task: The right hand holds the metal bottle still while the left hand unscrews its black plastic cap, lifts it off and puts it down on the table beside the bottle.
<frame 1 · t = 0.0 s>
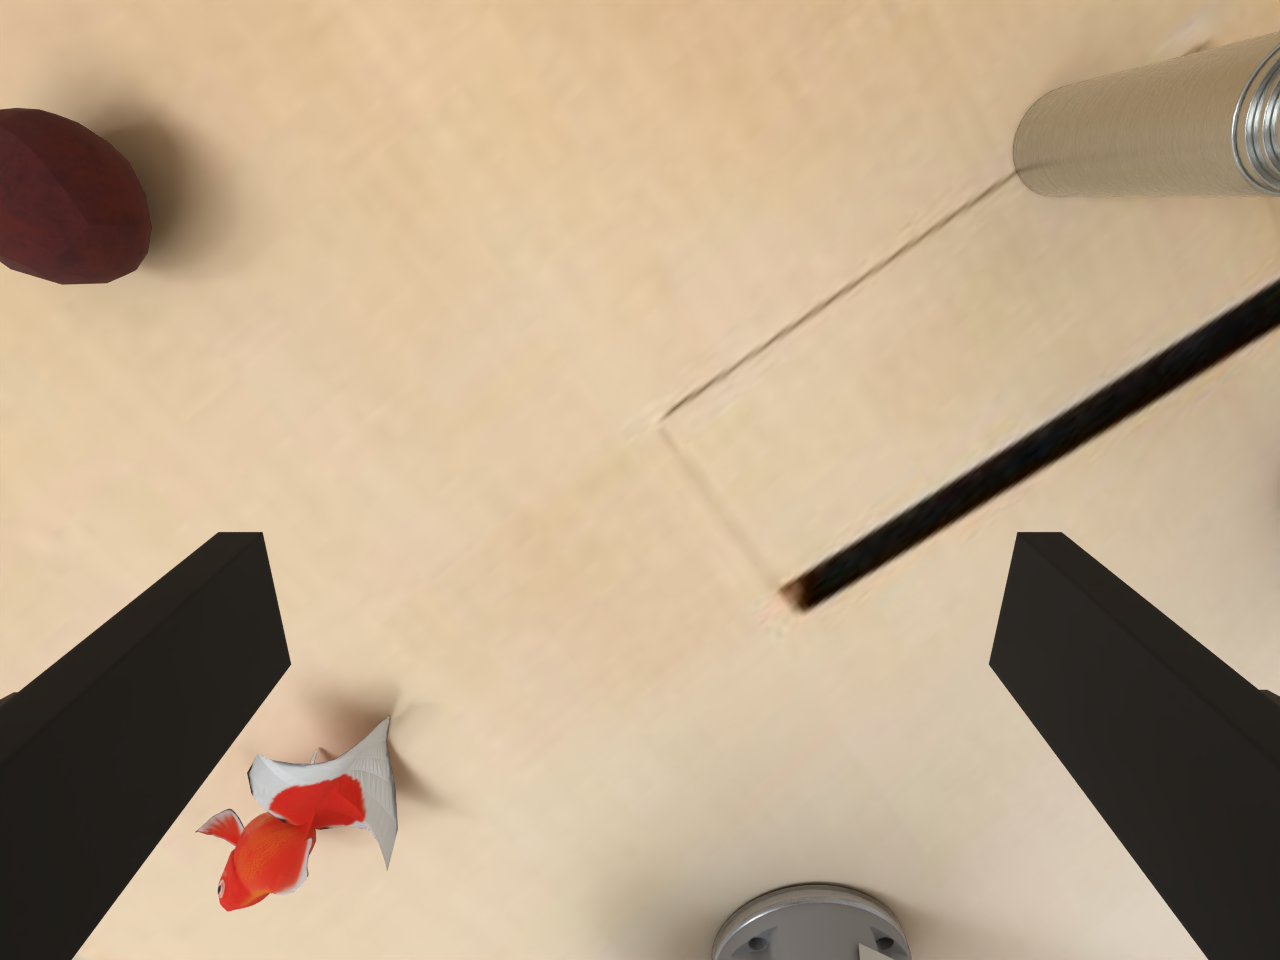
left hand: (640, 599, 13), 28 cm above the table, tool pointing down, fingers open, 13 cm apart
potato: (111, 202, 36), on the table
bottle: (1063, 142, 35), on the table
fish: (329, 764, 50), on the table
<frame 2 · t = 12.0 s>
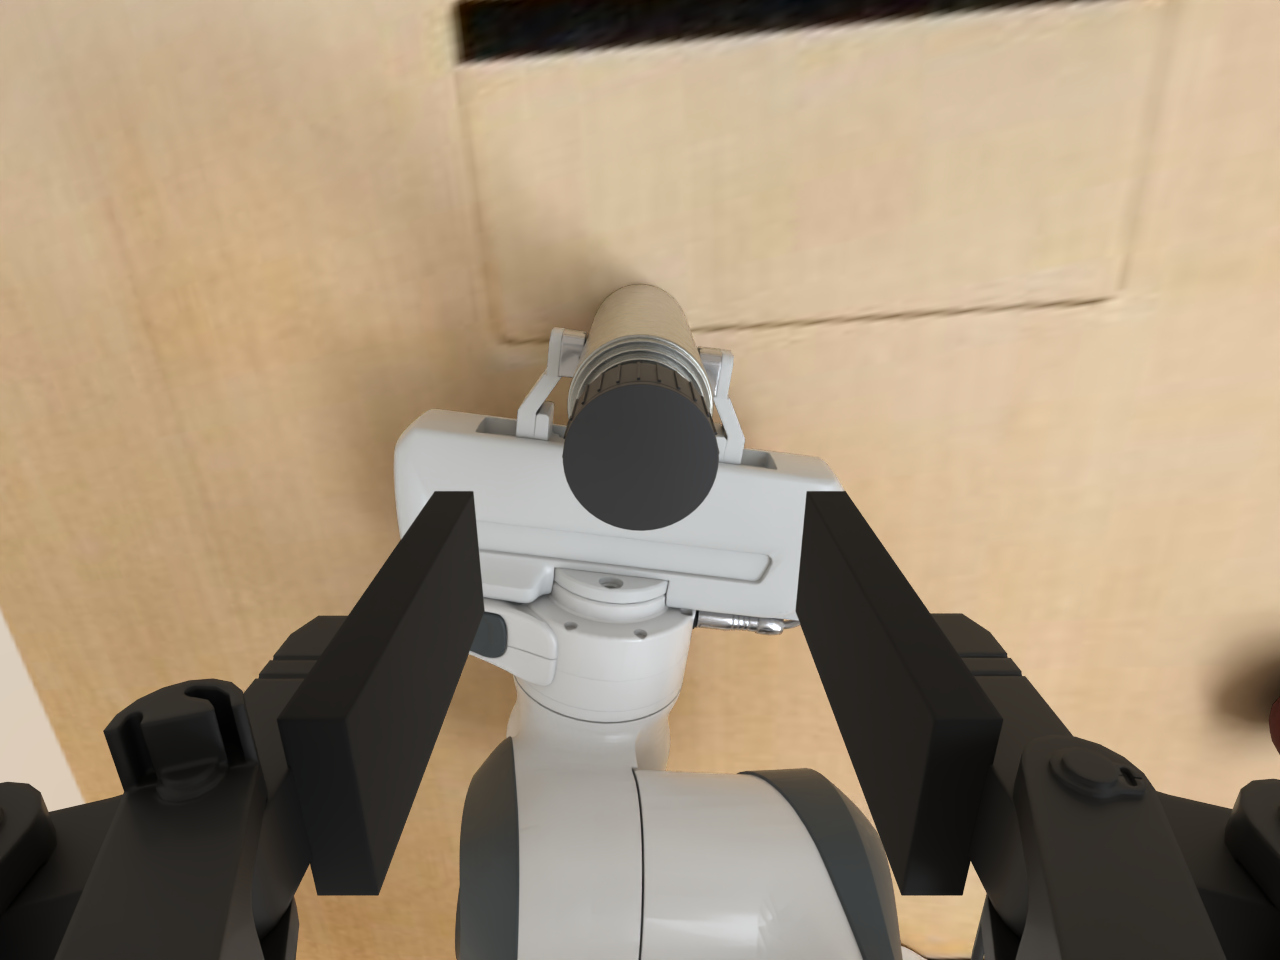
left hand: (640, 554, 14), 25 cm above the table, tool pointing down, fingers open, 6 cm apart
right hand: (641, 340, 31), fingers closed on bottle, 5 cm apart
bottle: (639, 332, 37), on the table, touching right hand
cap: (640, 456, 20), point 19 cm above the table, screwed on, not yet turned
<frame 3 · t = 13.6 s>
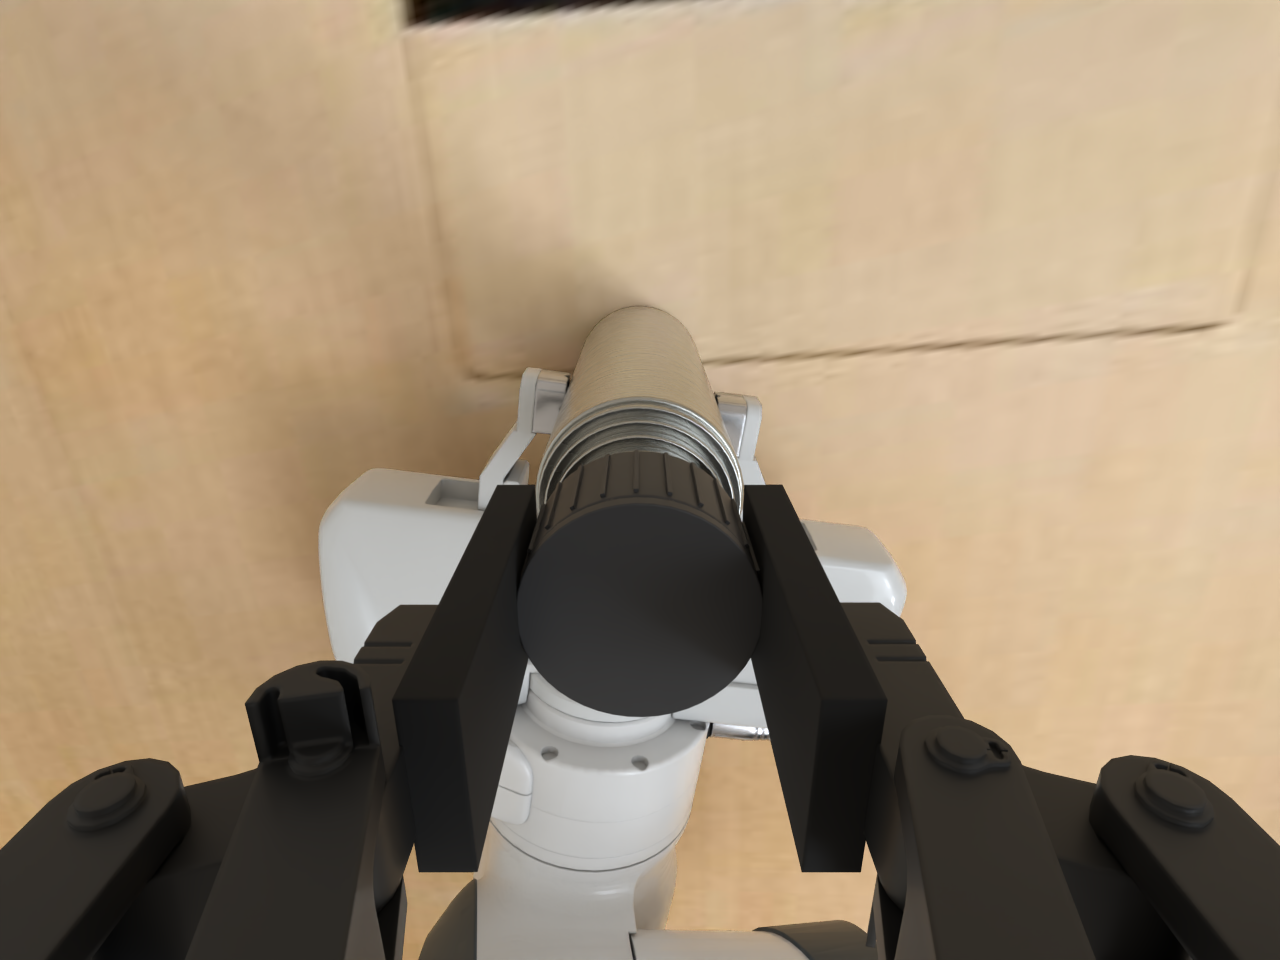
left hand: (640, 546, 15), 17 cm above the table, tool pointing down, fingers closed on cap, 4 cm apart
right hand: (641, 385, 23), fingers closed on bottle, 5 cm apart
bottle: (639, 365, 30), on the table, touching right hand
cap: (639, 608, 12), point 19 cm above the table, screwed on, not yet turned, touching left hand
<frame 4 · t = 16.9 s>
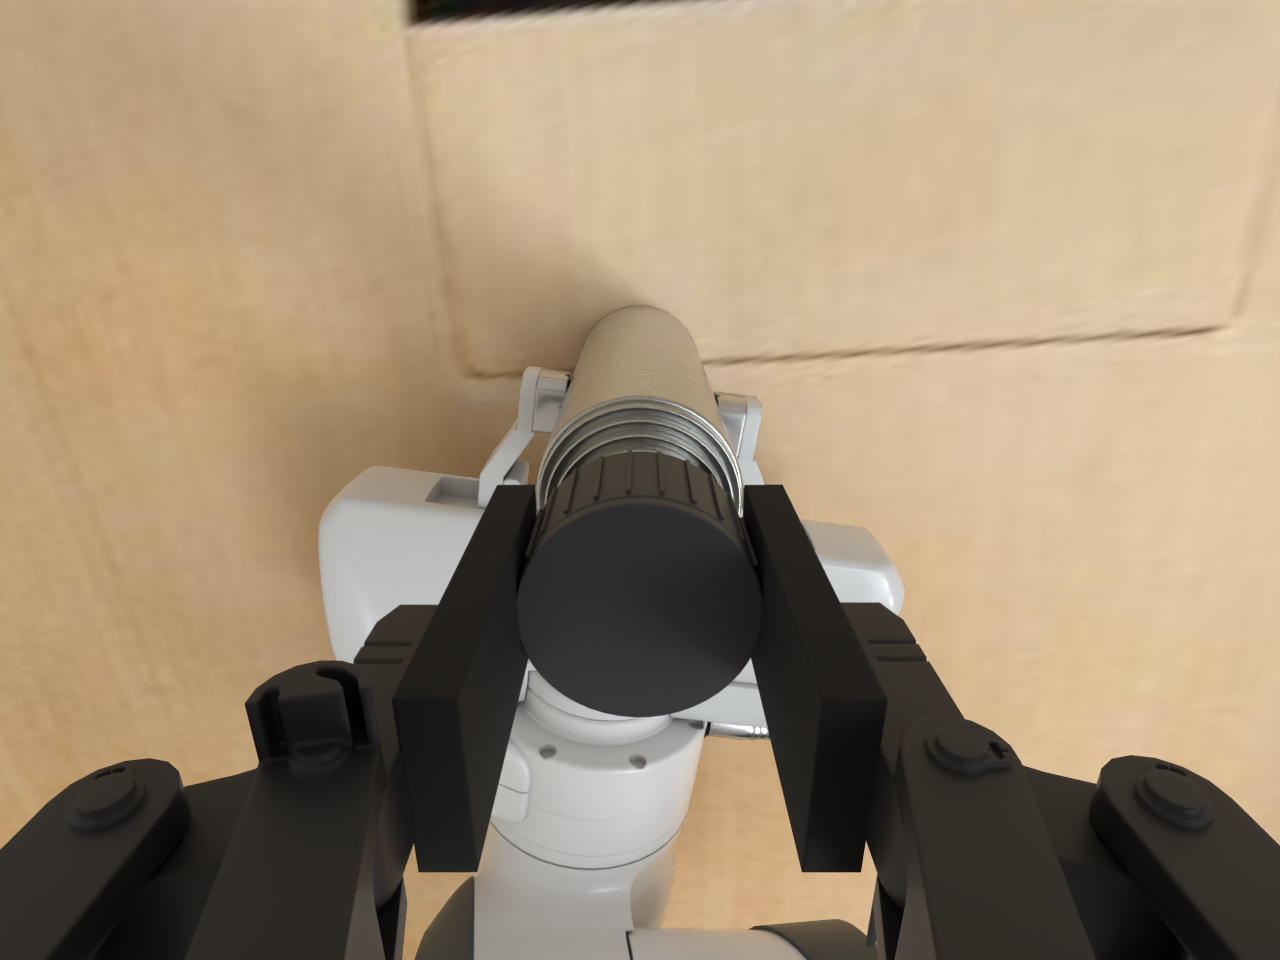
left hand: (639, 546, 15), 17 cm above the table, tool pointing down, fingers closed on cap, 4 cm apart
right hand: (642, 384, 24), fingers closed on bottle, 5 cm apart
bottle: (639, 365, 30), on the table, touching right hand
cap: (639, 608, 12), point 19 cm above the table, turned 94° so far, risen 0.1 cm, still on its thread, touching left hand
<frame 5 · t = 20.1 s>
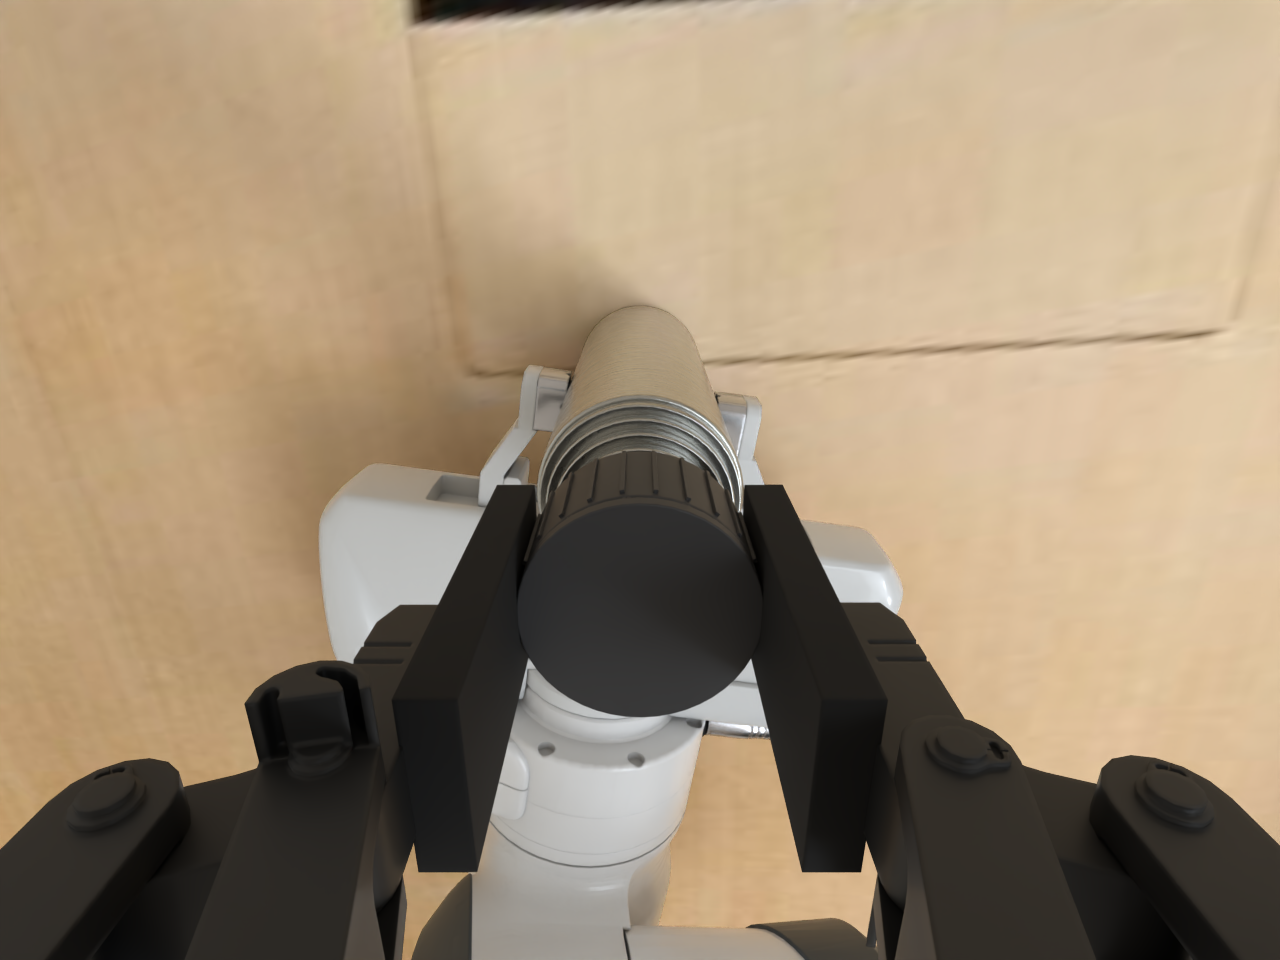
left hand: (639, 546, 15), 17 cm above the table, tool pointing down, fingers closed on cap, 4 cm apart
right hand: (642, 384, 24), fingers closed on bottle, 5 cm apart
bottle: (640, 365, 30), on the table, touching right hand
cap: (640, 608, 12), point 19 cm above the table, turned 187° so far, risen 0.2 cm, still on its thread, touching left hand
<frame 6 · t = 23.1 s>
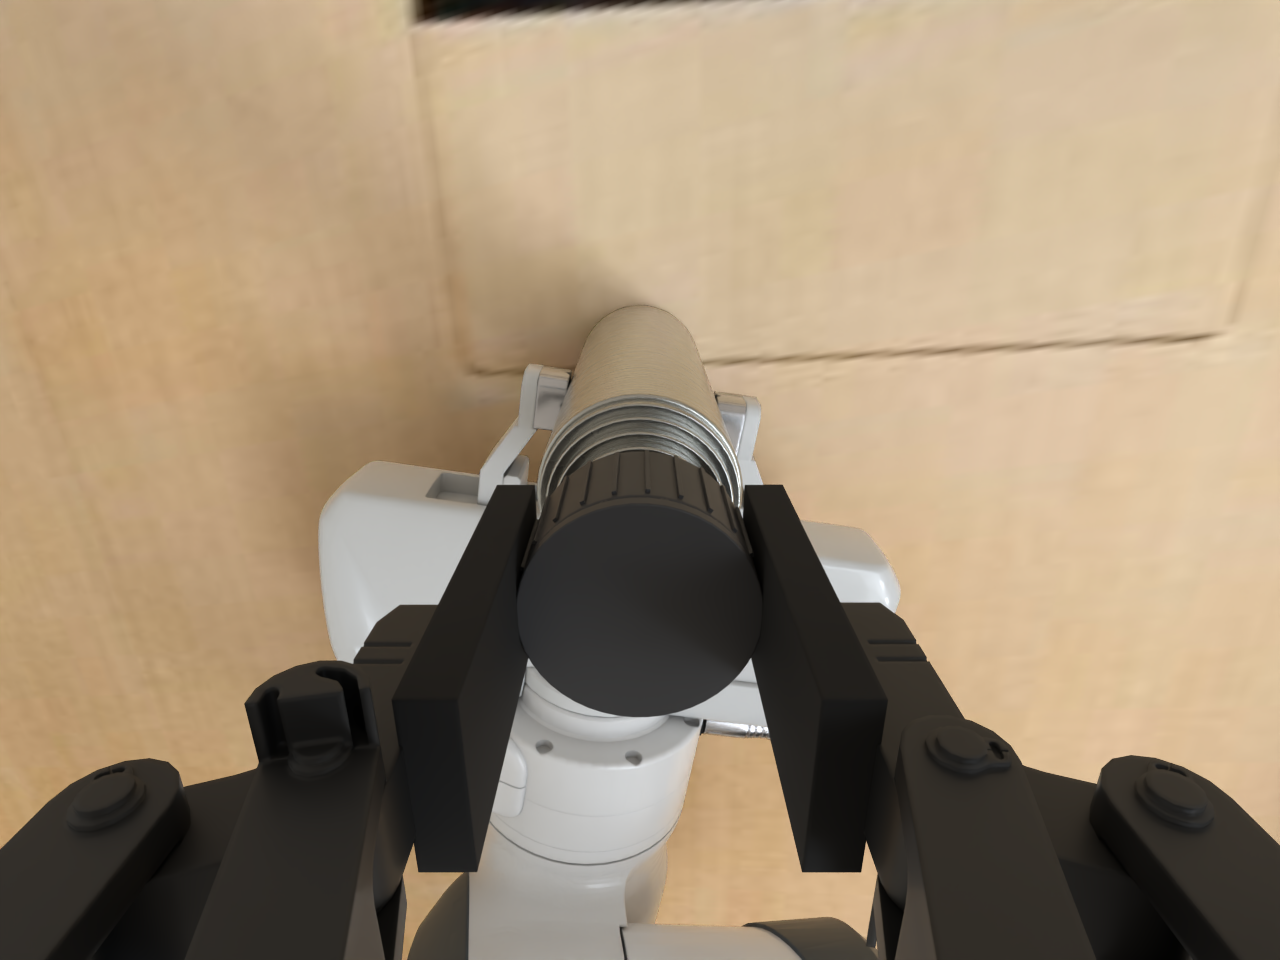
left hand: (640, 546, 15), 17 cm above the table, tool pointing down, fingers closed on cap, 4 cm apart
right hand: (642, 383, 24), fingers closed on bottle, 5 cm apart
bottle: (639, 364, 30), on the table, touching right hand
cap: (639, 608, 12), point 19 cm above the table, turned 281° so far, risen 0.2 cm, still on its thread, touching left hand
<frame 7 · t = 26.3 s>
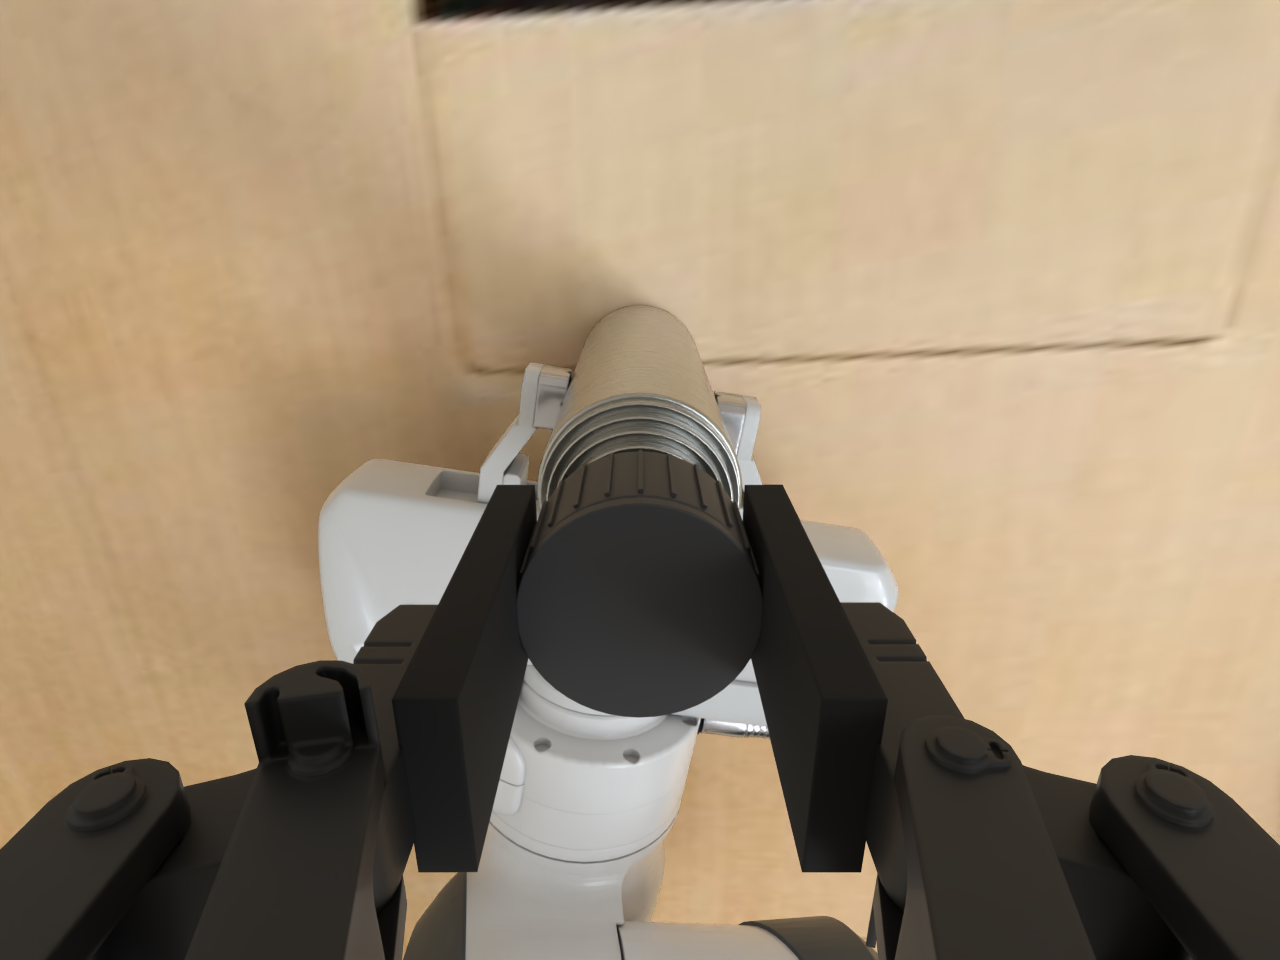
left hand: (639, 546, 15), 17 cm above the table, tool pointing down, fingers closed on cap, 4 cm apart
right hand: (642, 382, 24), fingers closed on bottle, 5 cm apart
bottle: (639, 364, 30), on the table, touching right hand
cap: (639, 608, 12), point 19 cm above the table, turned 375° so far, risen 0.3 cm, still on its thread, touching left hand
when the left hand's fingers open (2 cm above the table, at t = 32.4 s): cap drops 2 cm, point 2 cm above the table.
when the right hand's fingers open (7 cm above the table, at t = 33.7 s): bottle stays where it is, on the table.
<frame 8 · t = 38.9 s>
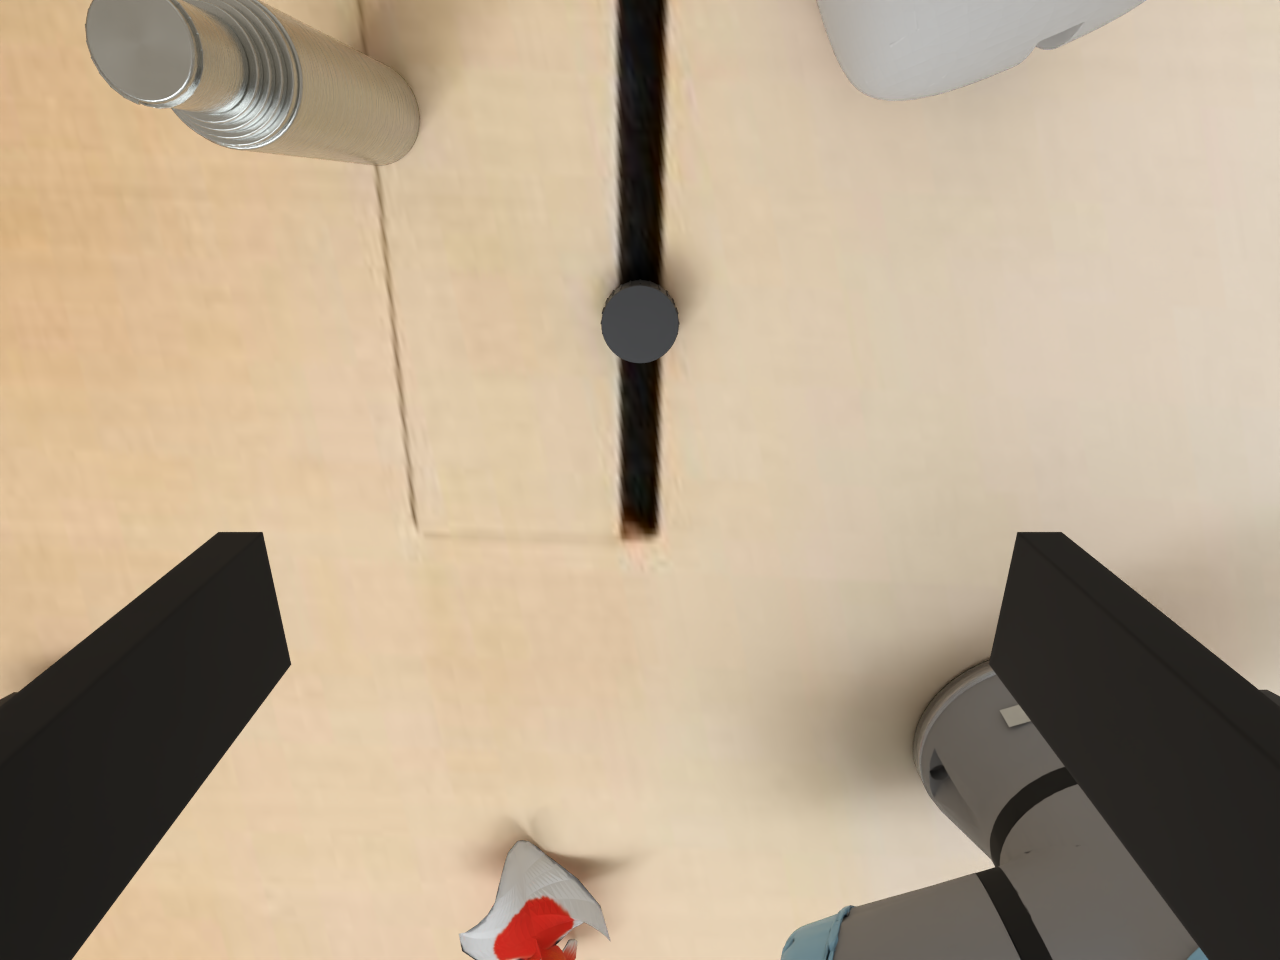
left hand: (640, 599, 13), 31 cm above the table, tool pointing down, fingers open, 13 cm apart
bottle: (372, 114, 38), on the table
cap: (640, 324, 40), point 2 cm above the table, off its thread
fish: (538, 894, 59), on the table
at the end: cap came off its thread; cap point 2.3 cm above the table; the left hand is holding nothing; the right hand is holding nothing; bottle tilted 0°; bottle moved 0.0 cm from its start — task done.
